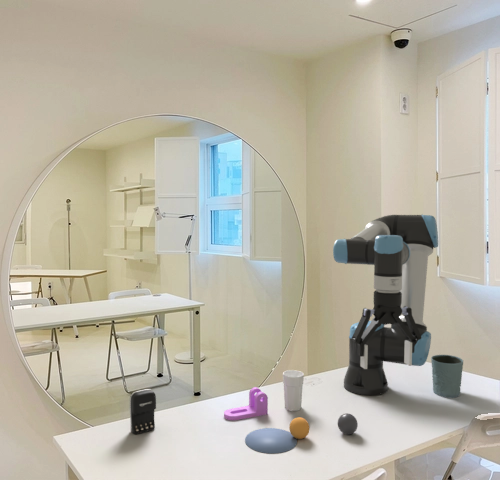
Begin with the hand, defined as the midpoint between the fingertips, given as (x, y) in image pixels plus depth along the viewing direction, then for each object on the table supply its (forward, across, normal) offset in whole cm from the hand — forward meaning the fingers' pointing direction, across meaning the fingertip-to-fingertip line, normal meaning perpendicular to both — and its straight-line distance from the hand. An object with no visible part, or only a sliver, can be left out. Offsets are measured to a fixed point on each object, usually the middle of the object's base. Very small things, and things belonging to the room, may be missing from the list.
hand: (386, 366), depth 135 cm
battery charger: (+19, -66, +15) cm, 71 cm away
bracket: (+19, -36, +20) cm, 46 cm away
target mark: (+19, -33, +2) cm, 38 cm away
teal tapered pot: (+19, +35, +22) cm, 45 cm away
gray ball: (+16, -11, +1) cm, 19 cm away
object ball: (+16, -25, +2) cm, 30 cm away
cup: (+19, -20, +22) cm, 35 cm away
